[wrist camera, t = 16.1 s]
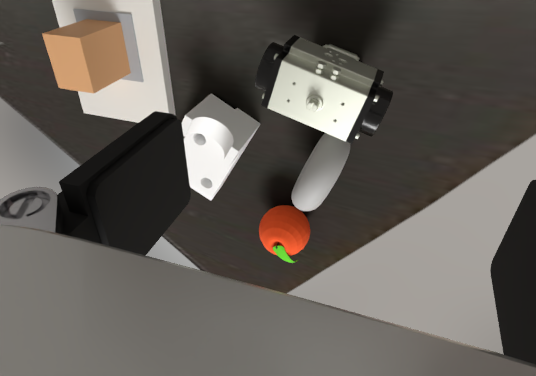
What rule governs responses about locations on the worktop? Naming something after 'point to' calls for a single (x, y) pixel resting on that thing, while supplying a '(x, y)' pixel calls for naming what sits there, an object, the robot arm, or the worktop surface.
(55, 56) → the block
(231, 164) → the bracket
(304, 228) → the clementine
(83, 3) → the plate
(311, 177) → the donut
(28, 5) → the worktop surface
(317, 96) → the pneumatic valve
